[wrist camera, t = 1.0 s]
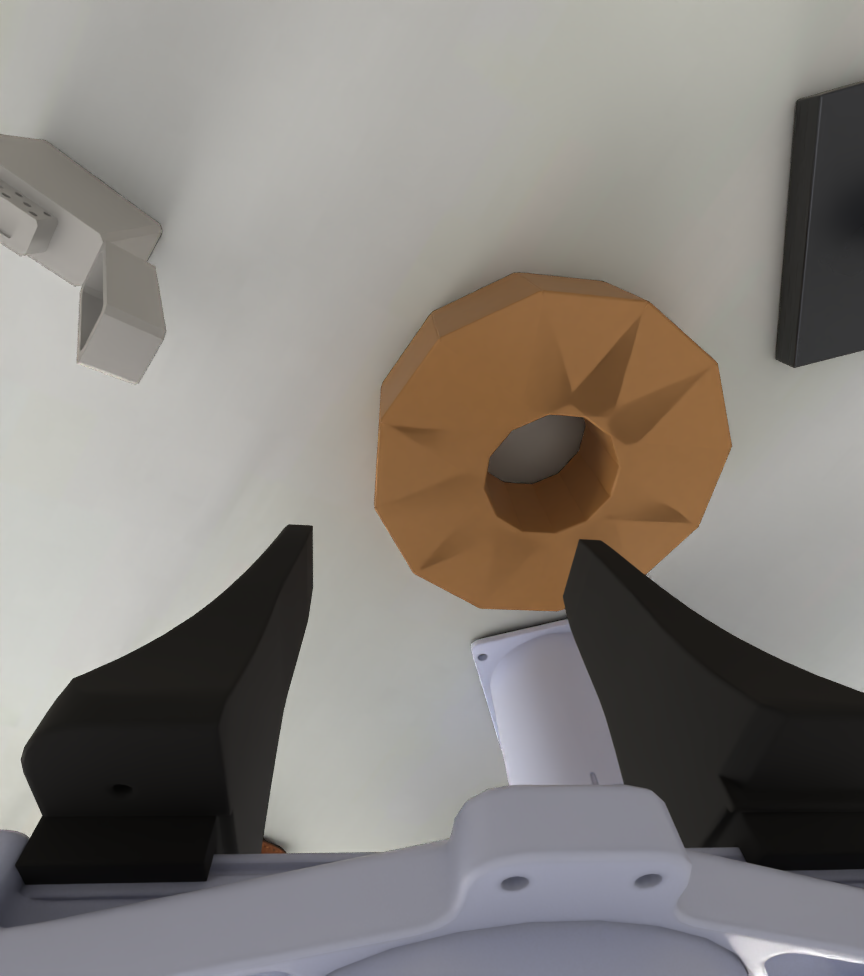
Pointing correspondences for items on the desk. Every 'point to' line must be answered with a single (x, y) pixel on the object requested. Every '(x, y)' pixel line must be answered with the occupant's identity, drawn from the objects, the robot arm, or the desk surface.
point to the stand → (824, 231)
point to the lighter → (86, 252)
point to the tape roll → (528, 397)
